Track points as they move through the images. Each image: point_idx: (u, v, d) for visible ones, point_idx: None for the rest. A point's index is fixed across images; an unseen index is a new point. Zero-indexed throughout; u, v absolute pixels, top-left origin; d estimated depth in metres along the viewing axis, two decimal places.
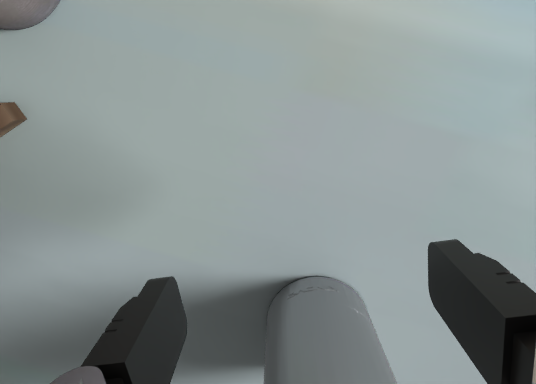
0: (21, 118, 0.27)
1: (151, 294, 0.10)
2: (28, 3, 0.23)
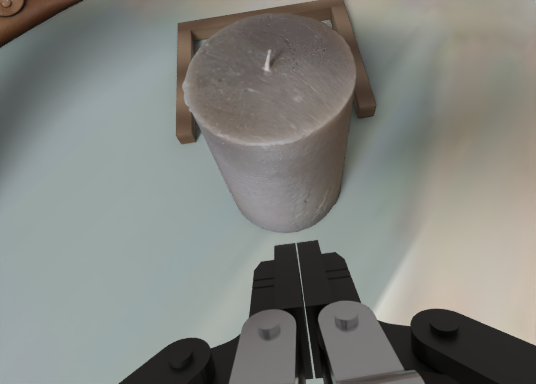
0: (180, 140, 0.34)
1: (288, 256, 0.11)
2: None
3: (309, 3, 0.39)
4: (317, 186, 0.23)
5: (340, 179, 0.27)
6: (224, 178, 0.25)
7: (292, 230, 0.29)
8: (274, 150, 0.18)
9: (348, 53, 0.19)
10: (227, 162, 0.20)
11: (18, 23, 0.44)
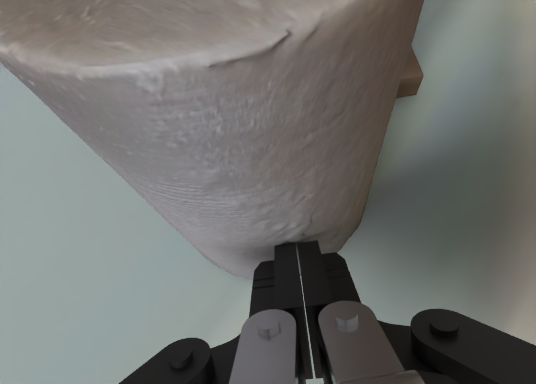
0: None
1: (288, 256, 0.11)
2: None
3: None
4: (330, 205, 0.10)
5: None
6: None
7: None
8: (186, 98, 0.05)
9: None
10: (96, 149, 0.08)
11: None
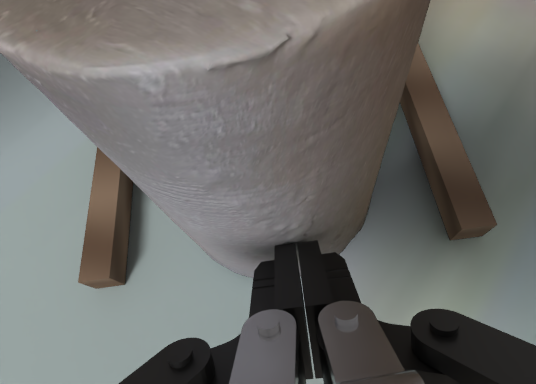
0: (93, 285, 0.17)
1: (287, 257, 0.11)
2: None
3: None
4: (332, 207, 0.10)
5: (373, 188, 0.14)
6: None
7: None
8: (187, 99, 0.05)
9: None
10: (100, 147, 0.08)
11: None
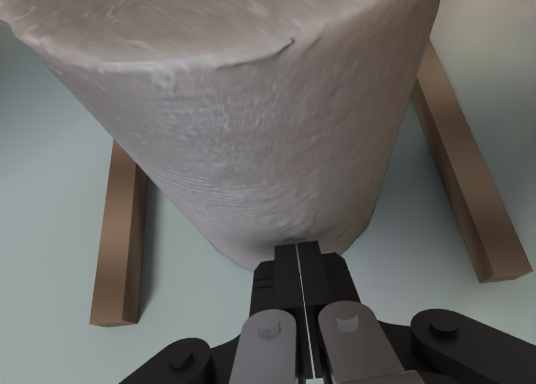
0: (104, 325, 0.16)
1: (288, 257, 0.11)
2: None
3: None
4: (334, 205, 0.11)
5: (379, 189, 0.14)
6: None
7: None
8: (195, 94, 0.05)
9: None
10: (114, 137, 0.08)
11: None
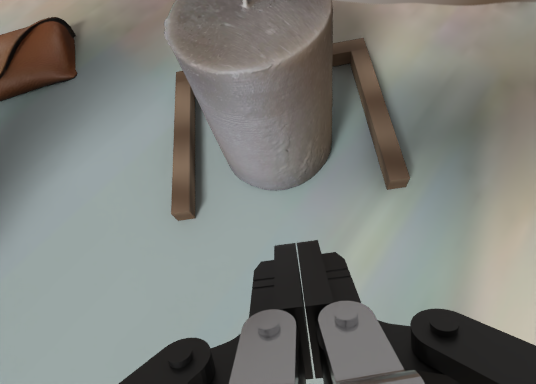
0: (177, 217, 0.29)
1: (287, 256, 0.11)
2: None
3: None
4: (298, 134, 0.23)
5: (327, 136, 0.27)
6: (210, 126, 0.25)
7: (279, 187, 0.29)
8: (244, 80, 0.18)
9: None
10: (206, 100, 0.21)
11: None
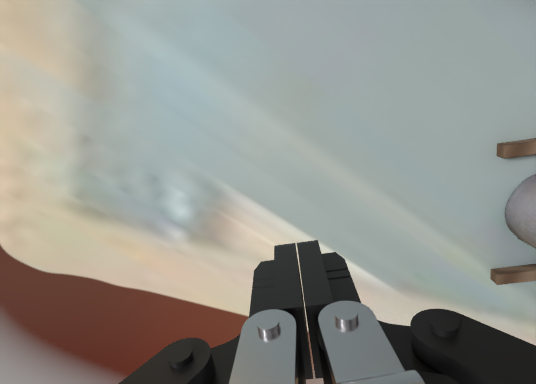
0: (499, 145, 0.42)
1: (288, 256, 0.11)
2: None
3: None
4: None
5: None
6: None
7: (508, 211, 0.44)
8: None
9: None
10: None
11: None
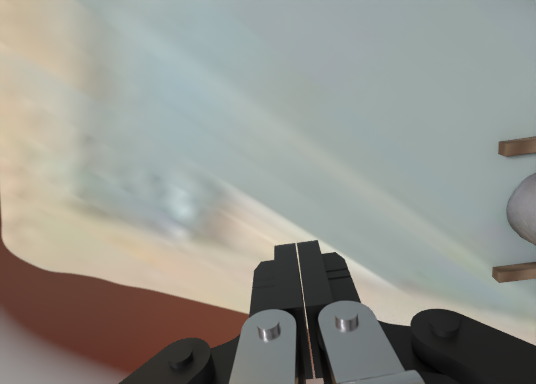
0: (501, 143, 0.42)
1: (288, 256, 0.11)
2: None
3: None
4: None
5: None
6: None
7: (509, 209, 0.44)
8: None
9: None
10: None
11: None
